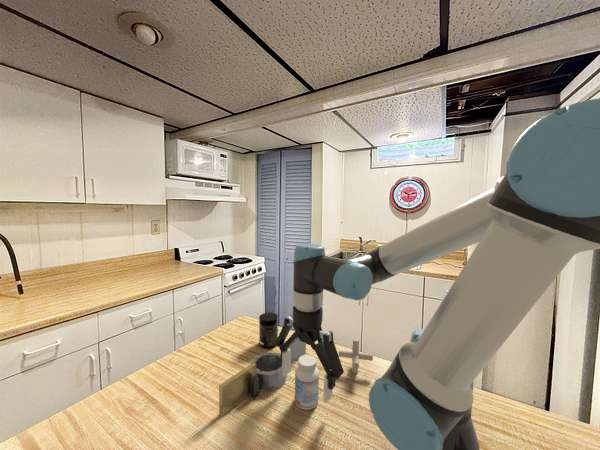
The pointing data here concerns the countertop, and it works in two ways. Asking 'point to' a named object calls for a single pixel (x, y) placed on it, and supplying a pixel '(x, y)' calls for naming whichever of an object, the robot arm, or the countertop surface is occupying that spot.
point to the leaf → (235, 388)
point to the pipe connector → (355, 355)
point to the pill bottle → (306, 383)
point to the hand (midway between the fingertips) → (305, 385)
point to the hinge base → (273, 362)
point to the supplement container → (268, 330)
